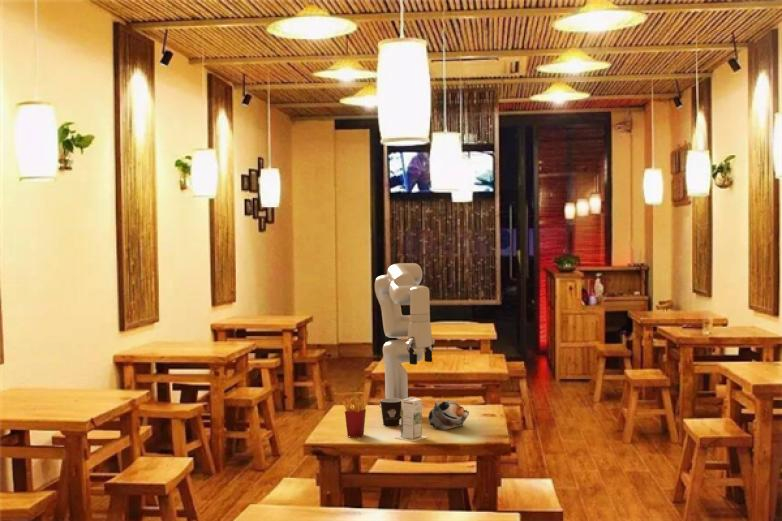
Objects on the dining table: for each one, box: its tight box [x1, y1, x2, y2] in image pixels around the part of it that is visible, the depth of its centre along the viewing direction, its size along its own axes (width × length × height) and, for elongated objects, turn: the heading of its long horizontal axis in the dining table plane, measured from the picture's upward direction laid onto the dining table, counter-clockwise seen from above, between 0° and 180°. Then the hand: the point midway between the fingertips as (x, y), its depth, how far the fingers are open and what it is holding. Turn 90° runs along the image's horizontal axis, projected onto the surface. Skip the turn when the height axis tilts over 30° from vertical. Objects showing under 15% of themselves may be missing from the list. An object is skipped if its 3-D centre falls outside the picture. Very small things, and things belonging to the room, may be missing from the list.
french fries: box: [342, 395, 367, 438], centre depth 343 cm, size 9×8×15 cm
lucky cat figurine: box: [428, 400, 470, 431], centre depth 354 cm, size 15×12×14 cm
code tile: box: [395, 435, 428, 442], centre depth 339 cm, size 9×9×1 cm
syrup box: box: [400, 397, 423, 439], centre depth 338 cm, size 6×6×14 cm
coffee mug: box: [380, 398, 401, 427], centre depth 360 cm, size 12×9×10 cm
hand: (420, 363), depth 345 cm, fingers open, 9 cm apart
